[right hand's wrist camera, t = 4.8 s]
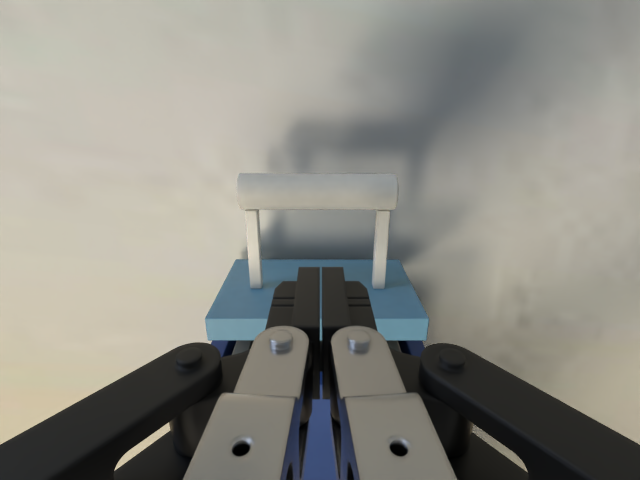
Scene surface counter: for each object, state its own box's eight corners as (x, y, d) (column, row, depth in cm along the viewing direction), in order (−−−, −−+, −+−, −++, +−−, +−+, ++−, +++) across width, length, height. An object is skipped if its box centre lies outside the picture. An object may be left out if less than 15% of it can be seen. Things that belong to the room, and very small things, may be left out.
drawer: (227, 161, 20) (188, 187, 14) (407, 162, 20) (446, 188, 14) (251, 437, 28) (231, 533, 22) (383, 437, 28) (402, 533, 22)
